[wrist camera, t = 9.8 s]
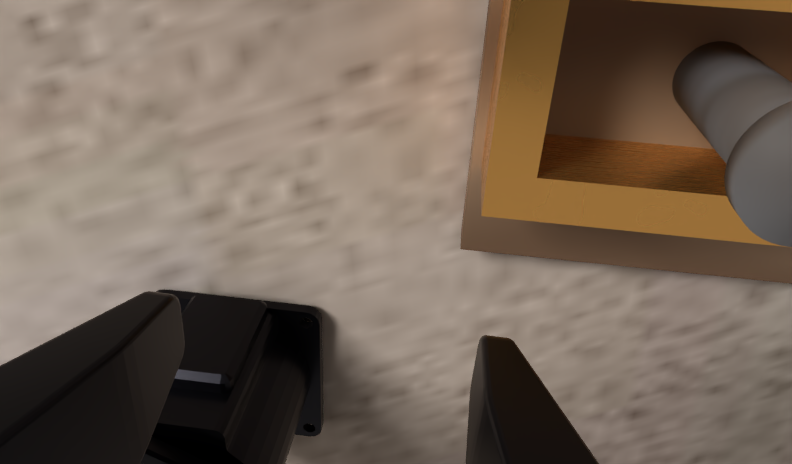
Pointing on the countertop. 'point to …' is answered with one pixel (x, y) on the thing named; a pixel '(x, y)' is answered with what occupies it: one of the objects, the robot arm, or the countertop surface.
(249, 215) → the countertop surface
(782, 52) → the keeper board
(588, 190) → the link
